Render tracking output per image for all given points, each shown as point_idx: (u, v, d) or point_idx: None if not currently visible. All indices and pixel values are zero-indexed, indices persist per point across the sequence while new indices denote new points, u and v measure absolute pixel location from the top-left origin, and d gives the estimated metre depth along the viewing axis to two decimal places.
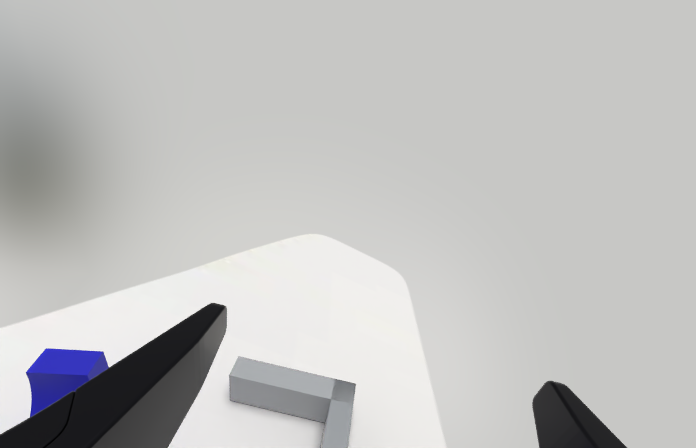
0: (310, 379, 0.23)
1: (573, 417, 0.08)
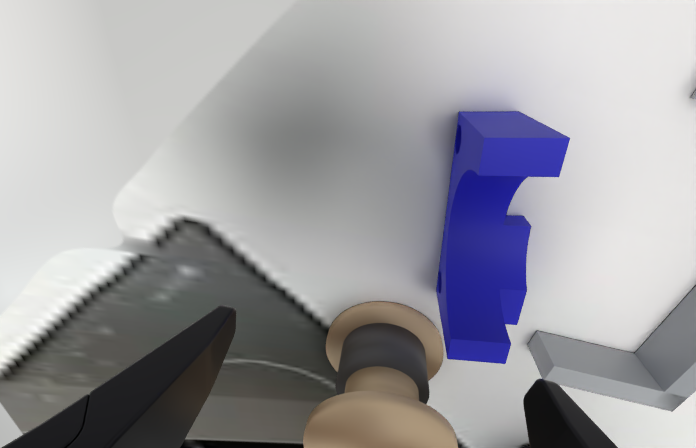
0: None
1: (562, 415, 0.08)
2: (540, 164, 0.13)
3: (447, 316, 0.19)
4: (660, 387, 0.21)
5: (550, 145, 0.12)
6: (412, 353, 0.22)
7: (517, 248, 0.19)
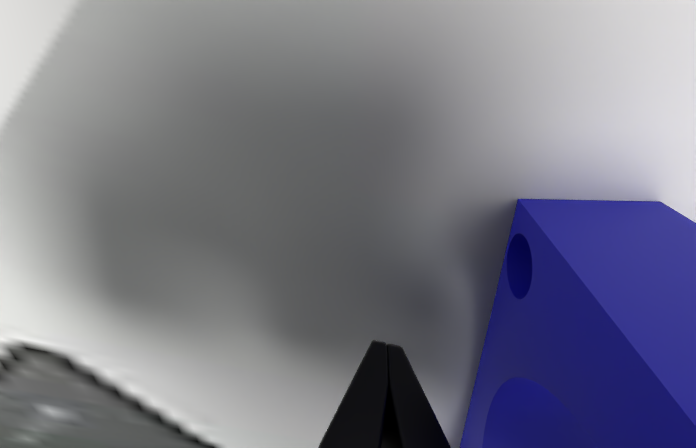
0: None
1: (388, 374, 0.08)
2: None
3: None
4: None
5: None
6: None
7: None
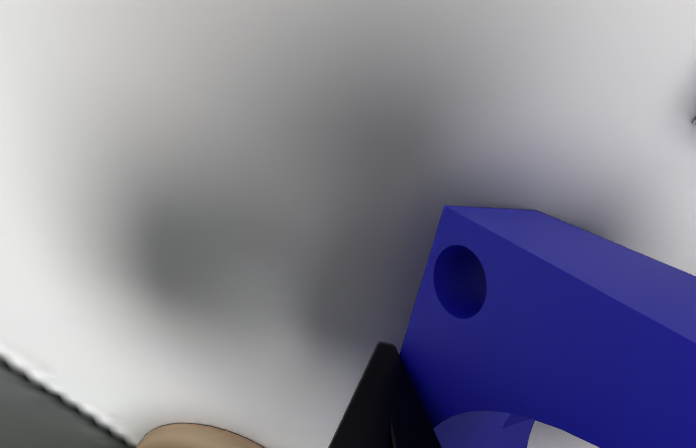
0: None
1: (380, 372, 0.08)
2: None
3: None
4: None
5: None
6: None
7: None
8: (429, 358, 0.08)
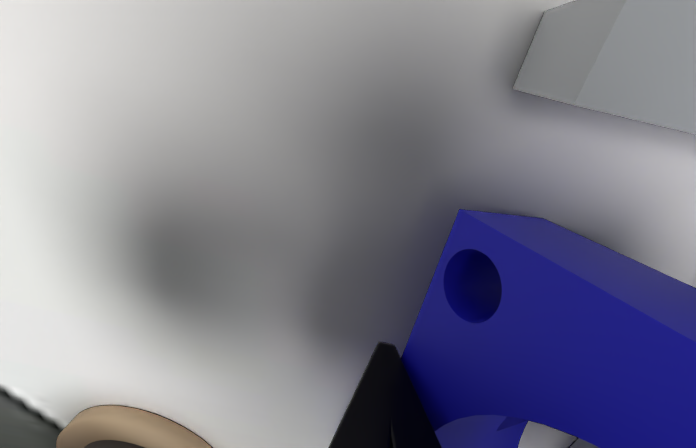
0: None
1: (380, 372, 0.08)
2: None
3: None
4: None
5: None
6: None
7: None
8: (435, 360, 0.08)
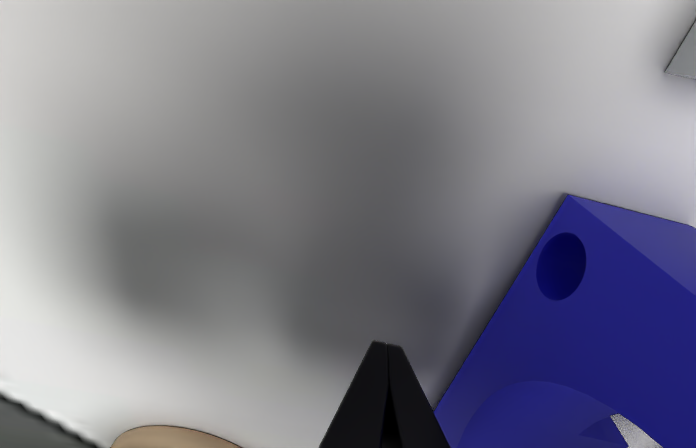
0: None
1: (388, 374, 0.08)
2: None
3: None
4: None
5: None
6: None
7: None
8: (513, 330, 0.08)
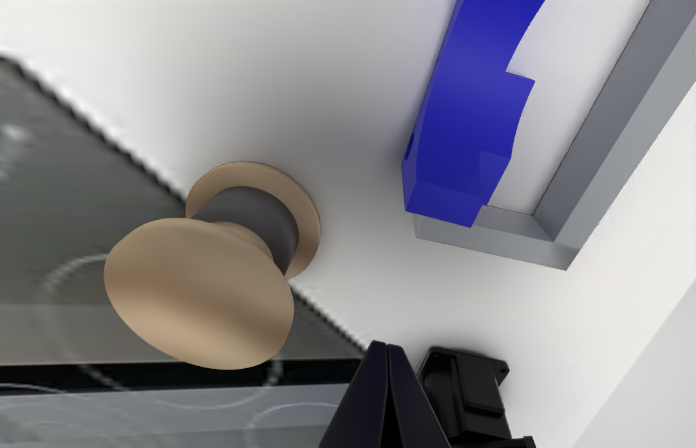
0: None
1: (388, 374, 0.08)
2: None
3: (415, 164, 0.15)
4: (550, 239, 0.18)
5: None
6: (265, 211, 0.19)
7: (512, 108, 0.16)
8: None
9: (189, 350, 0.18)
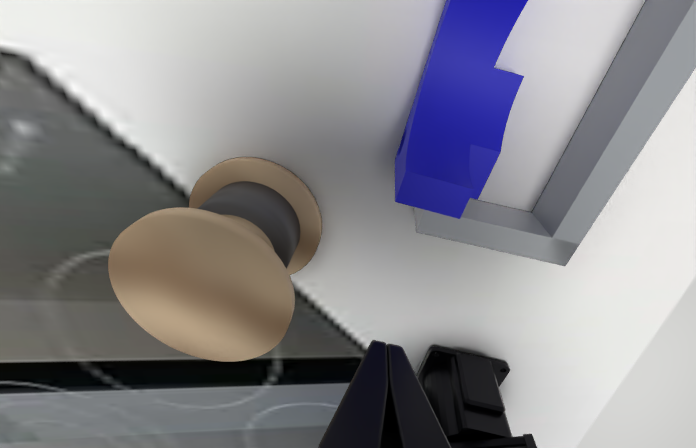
0: None
1: (388, 374, 0.08)
2: None
3: (405, 157, 0.15)
4: (549, 234, 0.18)
5: None
6: (268, 206, 0.19)
7: (501, 103, 0.16)
8: None
9: (190, 342, 0.18)
